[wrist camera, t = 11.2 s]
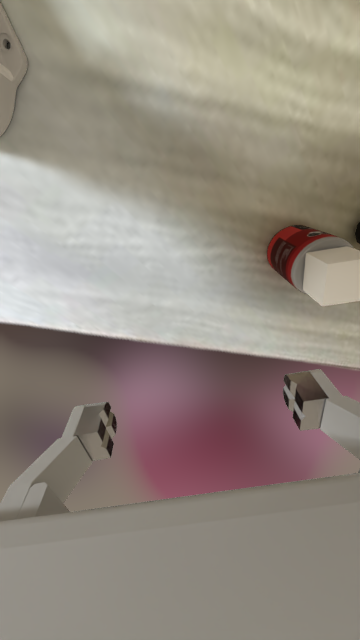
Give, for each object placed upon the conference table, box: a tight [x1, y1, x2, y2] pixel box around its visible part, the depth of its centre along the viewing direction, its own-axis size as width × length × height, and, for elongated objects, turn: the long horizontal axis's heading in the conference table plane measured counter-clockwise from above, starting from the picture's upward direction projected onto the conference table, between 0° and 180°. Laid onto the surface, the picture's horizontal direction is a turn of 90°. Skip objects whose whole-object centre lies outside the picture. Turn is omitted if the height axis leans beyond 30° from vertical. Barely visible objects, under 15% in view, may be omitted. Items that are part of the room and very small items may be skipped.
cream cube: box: [303, 246, 360, 306], centre depth 30 cm, size 5×5×5 cm
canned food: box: [267, 225, 353, 295], centre depth 36 cm, size 8×8×11 cm
